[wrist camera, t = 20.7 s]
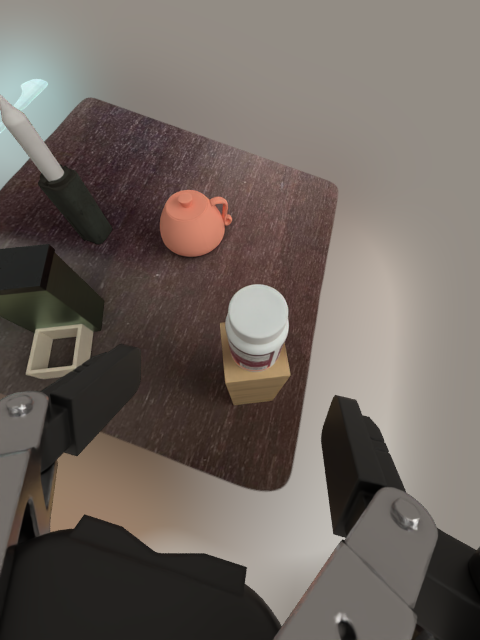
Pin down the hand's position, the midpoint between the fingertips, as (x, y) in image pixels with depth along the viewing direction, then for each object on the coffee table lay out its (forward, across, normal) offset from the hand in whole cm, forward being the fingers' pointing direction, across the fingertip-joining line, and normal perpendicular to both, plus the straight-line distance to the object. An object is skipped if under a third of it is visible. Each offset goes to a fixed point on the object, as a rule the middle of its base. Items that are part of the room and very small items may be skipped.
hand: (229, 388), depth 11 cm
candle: (+42, +38, +2) cm, 57 cm away
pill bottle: (+14, 0, +5) cm, 15 cm away
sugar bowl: (+45, +17, -1) cm, 48 cm away
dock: (+25, +31, +19) cm, 44 cm away
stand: (+26, 0, +18) cm, 32 cm away
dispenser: (+29, +33, +15) cm, 46 cm away
